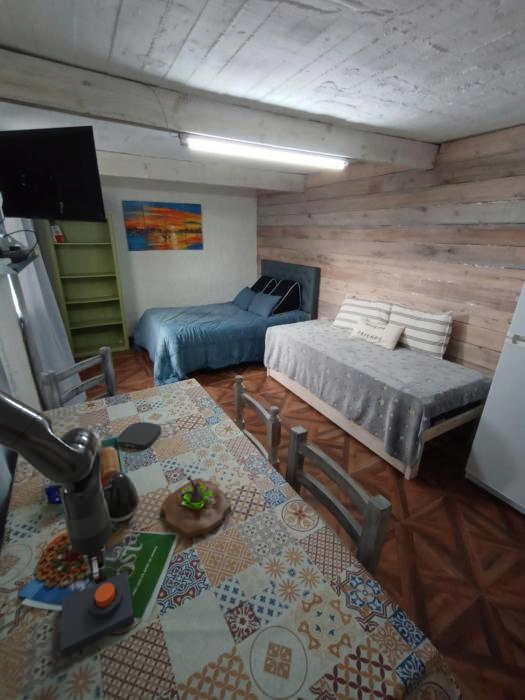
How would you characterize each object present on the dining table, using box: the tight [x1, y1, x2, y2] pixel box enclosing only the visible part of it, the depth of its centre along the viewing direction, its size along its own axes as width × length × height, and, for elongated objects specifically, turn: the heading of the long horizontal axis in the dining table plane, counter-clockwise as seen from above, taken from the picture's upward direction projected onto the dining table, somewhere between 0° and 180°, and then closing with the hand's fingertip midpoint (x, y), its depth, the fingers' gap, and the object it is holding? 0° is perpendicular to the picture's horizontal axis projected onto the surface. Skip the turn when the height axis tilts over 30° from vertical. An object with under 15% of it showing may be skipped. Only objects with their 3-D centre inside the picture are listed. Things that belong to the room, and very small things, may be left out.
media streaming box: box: [117, 421, 162, 450], centre depth 134 cm, size 15×15×3 cm
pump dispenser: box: [103, 471, 140, 523], centre depth 96 cm, size 10×10×15 cm
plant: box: [160, 475, 232, 540], centre depth 99 cm, size 20×20×11 cm
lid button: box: [95, 583, 115, 607], centre depth 72 cm, size 4×4×2 cm
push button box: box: [59, 570, 136, 659], centre depth 72 cm, size 14×11×4 cm
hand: (101, 579), depth 70 cm, fingers closed
